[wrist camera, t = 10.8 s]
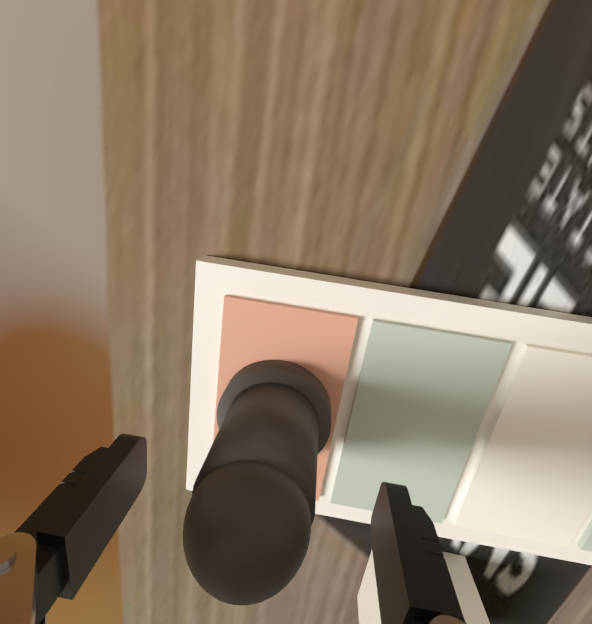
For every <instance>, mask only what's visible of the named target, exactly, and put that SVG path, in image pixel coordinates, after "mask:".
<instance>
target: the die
mask: <svg viewBox="0 0 592 624" xmlns="http://www.w3.org/2000/svg"><path fill="white" fill-rule="evenodd" d="M443 554H444V555H443V557H444V558H445V561H446V564H447V567H448V570H449V573H450V576H451V579H452V583H453V586H454V589H455V592H456V595H457V598H458V601H459V605H460V608H461V611H462V614H463V617H464V619H465V622H466V624H490V622H489V620H488V617H487V614H486V612H485V609H484V606H483V604H482V601H481V598H480V596H479V593H478V590H477V588H476V585H475V582H474V580H473V577H472V574H471V572H470V569H469V566H468V564H467V561H466V558H465V556H463V555H457V554H452V553H447V552H443ZM357 600H358V614H359V624H381V617H380V609H379V601H378V593H377V585H376V577H375V568H374V560H373V552H372V551H371V554H370V558H369V561H368V564H367V567H366V570H365V574H364V577H363V580H362V583H361V586H360V590H359V593H358V596H357Z"/></svg>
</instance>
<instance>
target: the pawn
mask: <svg viewBox="0 0 592 624" xmlns="http://www.w3.org/2000/svg"><path fill="white" fill-rule="evenodd" d="M217 424H218V428H219V431H218V433H217V435H216V438H215V440H214V442H213V444H212V446H211V448H210V450H209V453H208V455H207V457H206V459H205V461H204V463H203V465H202V468H201V470H200V472H199V474H198V476H197V478H196V481H195V483H194V486H193V491H192V497H191V500H190V502H189V505H188V508H187V510H186V515H185V519H184V524H183V547H184V552H185V557H186V560H187V563H188V566H189V568H190V571H191V573H192V575H193V576H194V578H195V579H196V580H197V582H198V583H199V585H200V586H201V587H202V588H203V589H204V590H205V591H206V592H208V593H209V594H210V595H211V596H213V597H214V598H216V599H218V600H220V601H223V602H225V603H229V604H233V605H250V604H255V603H259V602H262V601H264V600H267V599H269V598H271V597H272V596H274V595H276V594H277V593H278V592H280V591H281V590H282V589H283V588H284V587H286V585H287V584H288V583H289V582H290V581H291V580H292V579H293V577H294V576H295V574H296V573H297V571H298V570H299V568H300V566H301V565H302V562H303V560H304V558H305V555H306V552H307V549H308V545H309V540H310V533H311V525H312V523H313V520H314V516H315V504H316V481H317V458H318V454H319V453H320V452H321V450H322V449H323V448H324V447H325V445H326V443H327V441H328V438H329V436H330V431H331V404H330V399H329V395H328V393H327V391H326V389H325V387H324V386H323V384H322V383H321V382H320V380H319V379H318V378H317V377H316V376H315V375H314V374H313V373H311V372H310V371H308V370H307V369H305V368H304V367H302V366H300V365H297V364H295V363H292V362H288V361H284V360H262V361H258V362H255V363H252V364H249V365H247V366H245V367H244V368H242V369H241V370H239V371H238V372H237V373H236V374H235V375H234V376H233V377H232V379H231V380H230V381H229V383H228V385H227V387H226V389H225V391H224V392H223V394H222V396H221V398H220V401H219V403H218V407H217Z"/></svg>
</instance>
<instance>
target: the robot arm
mask: <svg viewBox="0 0 592 624" xmlns="http://www.w3.org/2000/svg"><path fill="white" fill-rule="evenodd" d="M146 474H147V442H146V438H145V437H140V436H134V435H129V434H121V435H119V436H118V438H117V439H116V440H115V441H114V442H113V443H112V444H111V446H110V447H109V448H105V447H100V448H98V449H97V450H96V451H94V452H92V453H90V454H89V455H87V456H85V457H84V458H83V459H82V460H81V461H80V462H79V464H78V465H77V466H76V467H75V468H74V469H73V470H72V473H70V474H69V475H67V477H66V478H65V479H64V480H63V481H62V483H61V485H58V486H57V487H56V489H55V490H53V492H52V493H51V494H50V495H49V496H48V497H47V498H46V499H45V500H44V501H43V502H42V503H41V505H40V506H39V507H38V508H37V509H36V510H35V511H34V512H33V513H32V514H31V515H30V516H29V517H28V519H27V520H26V521H25V522H24V523H23V524H22V525H21V526H20V527H19V528H18V529H17V530H16V531H15V532H14V533H9V534H5V535H3V536H0V624H48V614H47V613H48V611H49V610H50V608H51V606H52V605H53V603H54V602H55V600H56V599H57V597H61V598H67V599H71V600H72V599H73V598H74V597H75V595H76V593H77V591H78V590H79V589H80V587H81V585H82V584H83V582H84V581H85V579H86V578H87V576H88V574H89V573H90V571H91V570H92V568H93V566H94V565H95V563H96V562H97V560H98V558H99V557H100V555H101V554H102V552H103V551H104V549H105V547H106V546H107V544H108V543H109V541H110V539H111V538H112V536H113V535H114V533H115V532H116V530H117V528H118V527H119V525H120V524H121V522H122V520H123V519H124V517H125V516H126V514H127V512H128V511H129V509H130V508H131V506H132V505H133V503H134V501H135V500H136V498H137V497H138V495H139V493H140V492H141V490H142V488H143V485H144V482H145V479H146ZM370 535H371V544H372V552H373V560H374V568H375V577H376V585H377V593H378V601H379V609H380V617H381V624H466V622H465V619H464V617H463V614H462V611H461V608H460V605H459V601H458V598H457V595H456V592H455V589H454V586H453V583H452V579H451V576H450V573H449V570H448V567H447V564H446V561H445V558H444V557H443V555H444V554H443V551H442V548H441V545H440V544H439V539H438V536H437V533H436V529H435V526H434V523H433V522H432V520H431V519H430V517H429V516H428V514H427V513H426V512H425V510H424V509H423V507H421V506H415V505H412V503H411V499H410V495H409V492H408V489H407V487H406V486H404V485H399V484H393V483H388V482H382V483H381V486H380V489H379V492H378V496H377V499H376V502H375V506H374V509H373V513H372V517H371V525H370Z"/></svg>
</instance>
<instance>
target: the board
mask: <svg viewBox="0 0 592 624" xmlns="http://www.w3.org/2000/svg"><path fill="white" fill-rule="evenodd" d="M262 360H284V361H288V362H292V363H295V364H297V365H300V366H302V367H304V368H305V369H307V370H308V371H310V372H311V373H313V374H314V375H315V376H316V377H317V378H318V379H319V380H320V382H321V383H322V384H323V386H324V387H325V389H326V391H327V393H328V395H329V399H330V404H331V431H330V436H329V438H328V441H327V443H326V445H325V447H324V448H323V449H322V450H321V452H320V453H319V454H318V458H317V481H316V504H315V514H320V515H326V516H331V517H336V518H342V519H347V520H352V521H358V522H363V523H368V524H371V517H372V513H373V509H374V506H375V502H376V499H377V496H378V492H379V489H380V486H381V483H382V482H388V483H393V484H399V485H404V486H406V487H407V489H408V492H409V495H410V499H411V503H412V505H415V506H421V507H423V509H424V510H425V512H426V513H427V514H428V516H429V517H430V519H431V520H432V522H433V523H434V526H435V529H436V533H437V536H438V537H443V538H449V539H454V540H459V541H465V542H470V543H475V544H481V545H486V546H492V547H497V548H502V549H508V550H513V551H518V552H524V553H529V554H534V555H540V556H545V557H550V558H556V559H561V560H566V561H572V562H577V563H582V564H588V565H592V317H587V316H581V315H575V314H568V313H562V312H556V311H550V310H543V309H537V308H531V307H525V306H519V305H512V304H506V303H500V302H494V301H487V300H481V299H475V298H469V297H462V296H456V295H450V294H444V293H437V292H431V291H425V290H419V289H412V288H406V287H400V286H394V285H388V284H381V283H375V282H369V281H363V280H356V279H350V278H344V277H338V276H331V275H325V274H319V273H313V272H306V271H300V270H294V269H288V268H282V267H275V266H269V265H263V264H257V263H250V262H244V261H238V260H232V259H225V258H219V257H213V256H207V255H206V256H204V257H202V258H200V259H198V260H196V277H195V300H194V323H193V345H192V368H191V391H190V414H189V437H188V460H187V483H186V490H192V491H193V486H194V483H195V481H196V478H197V476H198V474H199V472H200V470H201V468H202V465H203V463H204V461H205V459H206V457H207V455H208V453H209V450H210V448H211V446H212V444H213V442H214V440H215V438H216V435H217V433H218V431H219V428H218V424H217V407H218V403H219V401H220V398H221V396H222V394H223V392H224V391H225V389H226V387H227V385H228V383H229V381H230V380H231V379H232V377H233V376H234V375H235V374H236V373H237V372H238V371H239V370H241V369H242V368H244V367H245V366H247V365H249V364H252V363H255V362H258V361H262Z"/></svg>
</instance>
